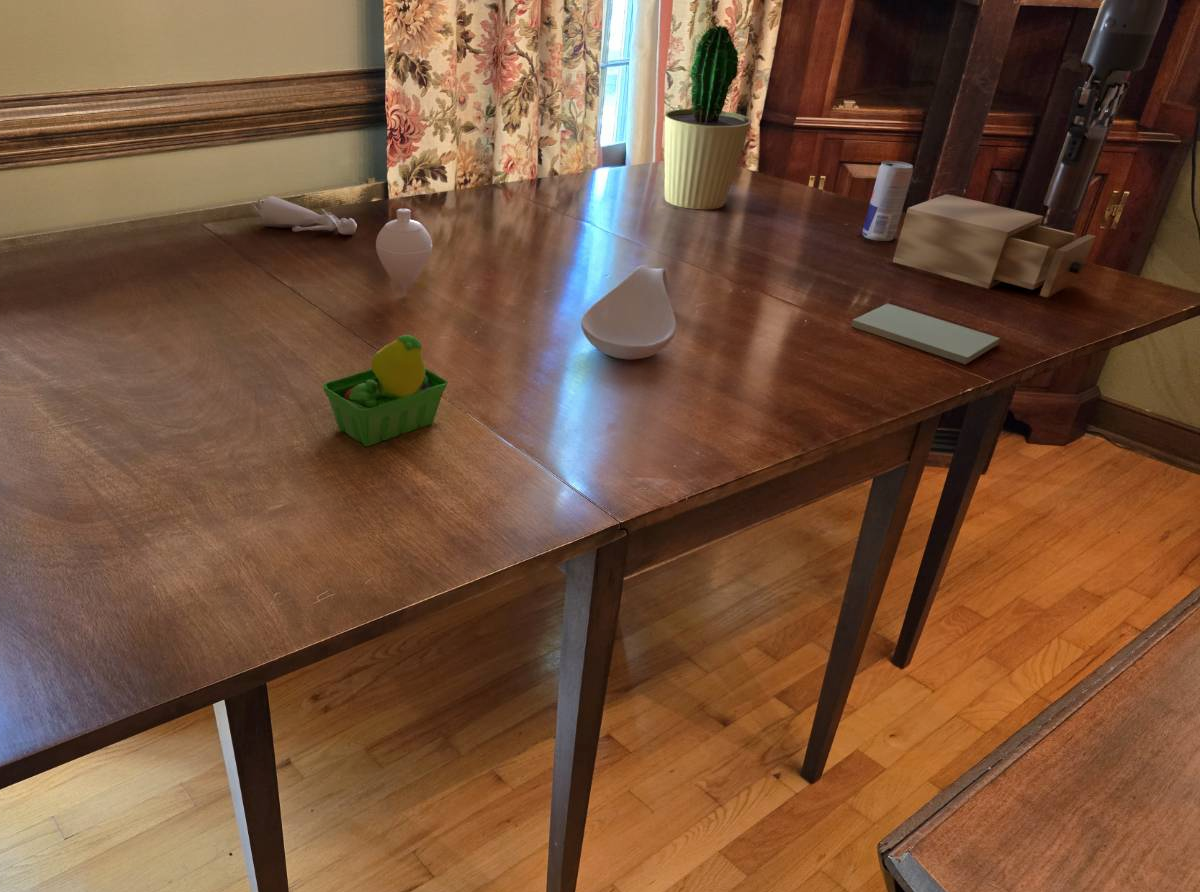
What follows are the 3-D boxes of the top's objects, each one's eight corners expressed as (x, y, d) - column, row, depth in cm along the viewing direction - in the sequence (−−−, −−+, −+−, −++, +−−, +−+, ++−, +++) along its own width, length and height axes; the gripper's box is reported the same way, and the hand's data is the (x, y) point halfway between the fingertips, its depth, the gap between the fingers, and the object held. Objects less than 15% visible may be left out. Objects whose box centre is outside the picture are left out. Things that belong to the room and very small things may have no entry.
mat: (997, 345, 128) (1000, 338, 127) (965, 364, 122) (967, 357, 121) (885, 309, 137) (887, 303, 136) (850, 326, 131) (852, 319, 131)
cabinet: (1023, 270, 154) (1043, 216, 149) (988, 289, 146) (1008, 232, 141) (930, 245, 163) (946, 193, 158) (892, 261, 155) (907, 207, 150)
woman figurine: (270, 185, 162) (369, 204, 159) (271, 211, 165) (369, 231, 162) (237, 203, 153) (342, 224, 150) (238, 230, 155) (341, 252, 152)
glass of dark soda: (1082, 206, 141) (1112, 126, 135) (1070, 211, 138) (1101, 130, 132) (1050, 199, 143) (1078, 120, 137) (1038, 204, 141) (1066, 124, 135)
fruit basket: (406, 399, 108) (406, 302, 102) (457, 428, 103) (460, 329, 96) (321, 428, 102) (315, 327, 95) (371, 461, 96) (367, 357, 90)
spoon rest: (663, 377, 115) (672, 321, 111) (568, 362, 118) (573, 306, 114) (690, 310, 134) (699, 259, 130) (608, 298, 137) (614, 248, 133)
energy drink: (872, 230, 169) (891, 159, 162) (900, 238, 166) (920, 165, 159) (855, 235, 166) (874, 163, 159) (883, 243, 163) (903, 170, 156)
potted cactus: (735, 216, 173) (770, 29, 156) (650, 207, 176) (674, 23, 159) (737, 194, 186) (769, 19, 168) (657, 186, 188) (680, 13, 171)
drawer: (1086, 282, 147) (1104, 237, 143) (1056, 300, 140) (1074, 254, 136) (985, 255, 157) (999, 213, 153) (951, 271, 149) (965, 227, 145)
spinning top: (366, 300, 133) (364, 212, 126) (393, 283, 138) (392, 198, 132) (415, 310, 130) (415, 221, 123) (441, 293, 136) (442, 207, 129)
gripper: (1137, 34, 121) (1085, 175, 131) (1172, 28, 130) (1121, 160, 139) (1075, 28, 126) (1029, 164, 135) (1113, 22, 134) (1067, 150, 144)
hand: (1076, 161), depth 137 cm, fingers closed on glass of dark soda, 4 cm apart
